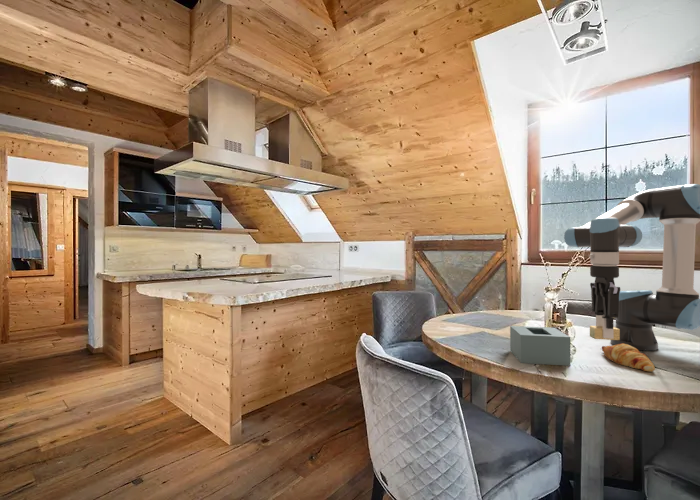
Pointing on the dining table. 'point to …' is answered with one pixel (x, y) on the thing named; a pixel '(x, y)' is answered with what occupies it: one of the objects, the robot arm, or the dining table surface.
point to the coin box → (540, 345)
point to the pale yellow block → (597, 333)
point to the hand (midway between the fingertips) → (604, 336)
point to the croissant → (628, 357)
